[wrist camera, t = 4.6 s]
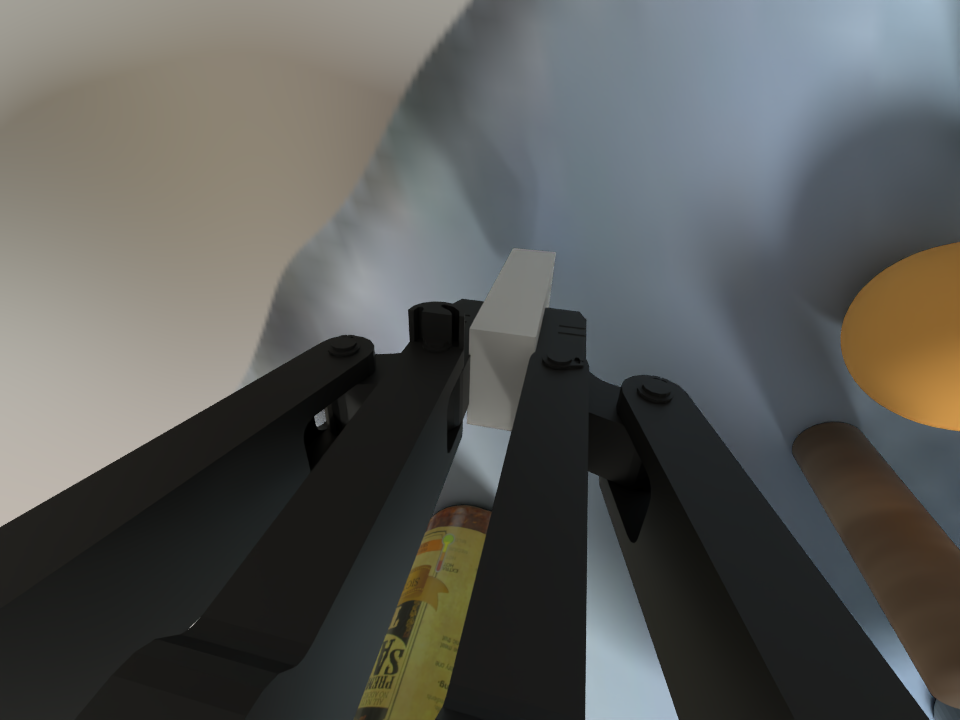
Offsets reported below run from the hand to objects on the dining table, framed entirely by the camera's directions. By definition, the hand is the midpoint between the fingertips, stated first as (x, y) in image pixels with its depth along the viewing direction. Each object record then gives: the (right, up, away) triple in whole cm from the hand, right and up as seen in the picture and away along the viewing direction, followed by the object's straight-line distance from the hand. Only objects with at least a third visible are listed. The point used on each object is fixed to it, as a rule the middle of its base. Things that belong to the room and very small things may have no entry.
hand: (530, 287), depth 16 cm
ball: (+12, -2, -3) cm, 13 cm away
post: (+13, -6, +3) cm, 15 cm away
